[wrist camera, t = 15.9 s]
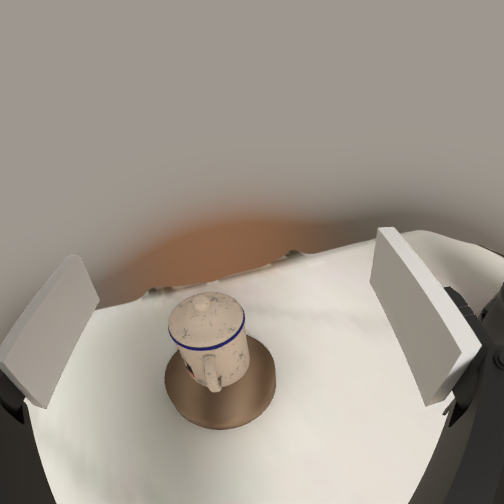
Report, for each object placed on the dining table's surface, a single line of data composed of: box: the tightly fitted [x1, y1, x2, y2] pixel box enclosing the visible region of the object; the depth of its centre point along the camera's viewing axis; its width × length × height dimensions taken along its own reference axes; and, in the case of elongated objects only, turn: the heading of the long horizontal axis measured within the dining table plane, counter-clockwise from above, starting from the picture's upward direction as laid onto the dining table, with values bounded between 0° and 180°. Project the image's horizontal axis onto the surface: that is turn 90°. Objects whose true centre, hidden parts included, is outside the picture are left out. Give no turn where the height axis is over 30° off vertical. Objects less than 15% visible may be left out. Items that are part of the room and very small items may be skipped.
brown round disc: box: [165, 335, 276, 430], centre depth 37 cm, size 15×15×3 cm
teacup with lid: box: [168, 292, 250, 392], centre depth 33 cm, size 12×9×12 cm
